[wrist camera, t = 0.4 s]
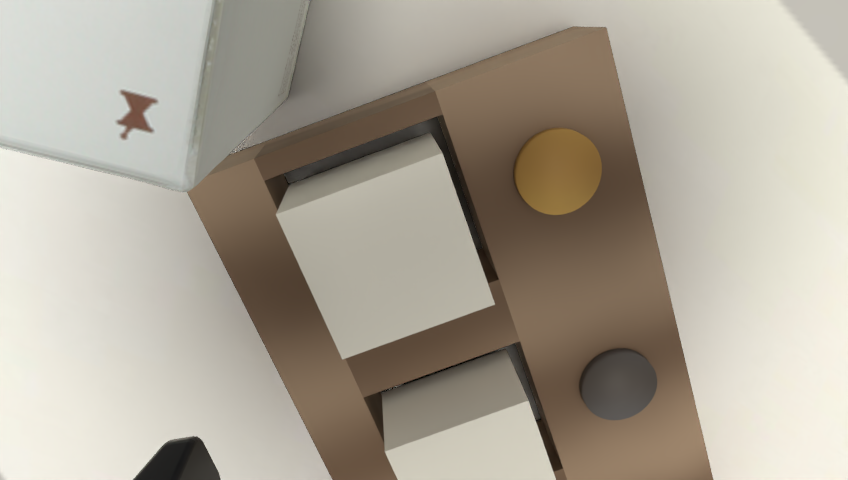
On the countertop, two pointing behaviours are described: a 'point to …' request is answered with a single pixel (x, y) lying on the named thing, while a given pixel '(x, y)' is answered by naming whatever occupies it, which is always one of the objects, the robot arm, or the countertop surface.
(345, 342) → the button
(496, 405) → the middle button
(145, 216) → the countertop surface
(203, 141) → the supplement box
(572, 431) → the button board
